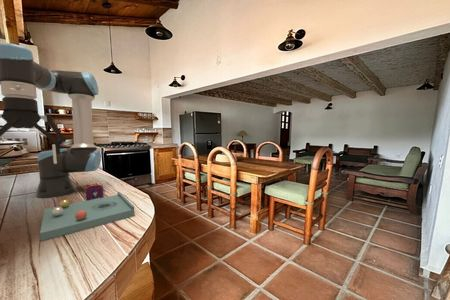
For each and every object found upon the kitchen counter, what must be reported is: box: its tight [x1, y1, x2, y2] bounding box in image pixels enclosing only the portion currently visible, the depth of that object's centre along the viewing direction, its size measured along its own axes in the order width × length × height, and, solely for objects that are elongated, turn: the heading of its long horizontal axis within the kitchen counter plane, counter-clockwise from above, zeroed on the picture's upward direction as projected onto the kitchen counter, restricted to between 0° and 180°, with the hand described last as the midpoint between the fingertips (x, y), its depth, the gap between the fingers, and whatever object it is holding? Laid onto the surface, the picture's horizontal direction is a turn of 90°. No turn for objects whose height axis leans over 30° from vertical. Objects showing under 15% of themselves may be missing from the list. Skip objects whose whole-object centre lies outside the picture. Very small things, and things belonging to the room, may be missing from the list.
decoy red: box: [75, 210, 87, 220], centre depth 65 cm, size 3×3×3 cm
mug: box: [85, 184, 105, 201], centre depth 91 cm, size 7×10×7 cm
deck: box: [39, 191, 135, 242], centre depth 74 cm, size 24×26×4 cm
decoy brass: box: [58, 198, 71, 208], centre depth 76 cm, size 3×3×3 cm
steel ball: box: [52, 206, 64, 216], centre depth 68 cm, size 3×3×3 cm
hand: (27, 165), depth 62 cm, fingers open, 13 cm apart
